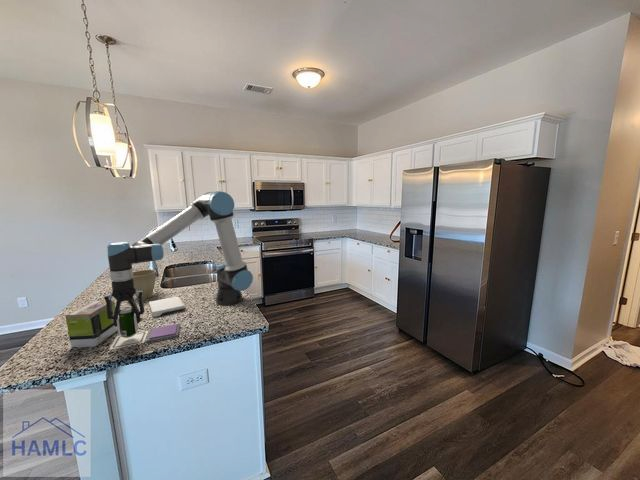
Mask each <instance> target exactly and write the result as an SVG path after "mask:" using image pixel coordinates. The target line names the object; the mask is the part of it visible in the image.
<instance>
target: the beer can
mask: <svg viewBox="0 0 640 480" xmlns="http://www.w3.org/2000/svg"><path fill="white" fill-rule="evenodd" d="M134 316H135V313H134V311H133V309H132V307H131V306H125V307H122V308H121V307H120V309H119V315H118V317H119V320H120V328H121V334H120V336H122V337H123V338H129V337H132V336H134V335H135V334H136V333H138V331H135V323H134Z"/></svg>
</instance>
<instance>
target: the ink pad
mask: <svg viewBox="0 0 640 480" xmlns="http://www.w3.org/2000/svg"><path fill="white" fill-rule="evenodd" d="M180 327H181V323H175V324H168V325H163V326H157V327H152V328H150V330H149V331H148V334H147V336H146V339H145V341H146V343H147V342H149V343H153V341H154V342H159V341H163V340H165V341H166V340H168V339H169V340H170V339H175V338H179V334H180V329H181V328H180ZM158 340H159V341H158ZM147 344H148V343H147Z"/></svg>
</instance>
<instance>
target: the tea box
mask: <svg viewBox="0 0 640 480" xmlns="http://www.w3.org/2000/svg"><path fill="white" fill-rule="evenodd" d="M115 307H116V302H115V300H112V311H113V315H114V312H115ZM65 320H66V327H67V332H68V336H69V342H70V343H69V344H70V347H71V348H72V347H77V348H93V347H94V348H95V347H97V346H99V344H100V343H102V342H104V341H105V340H107V339H108V338H109V337H110V336H112V335H114V333H116V332H118V327H117V326H116V327H115V326H114V320H113V319H108V317H107V306H106V301H105V300H102V301H101V300H99V301H91V302H88V303H87V304H85V305H83V306H81V307H80V308H76V309H75V310H73V311H72V312H70V313H67V314H65Z"/></svg>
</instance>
